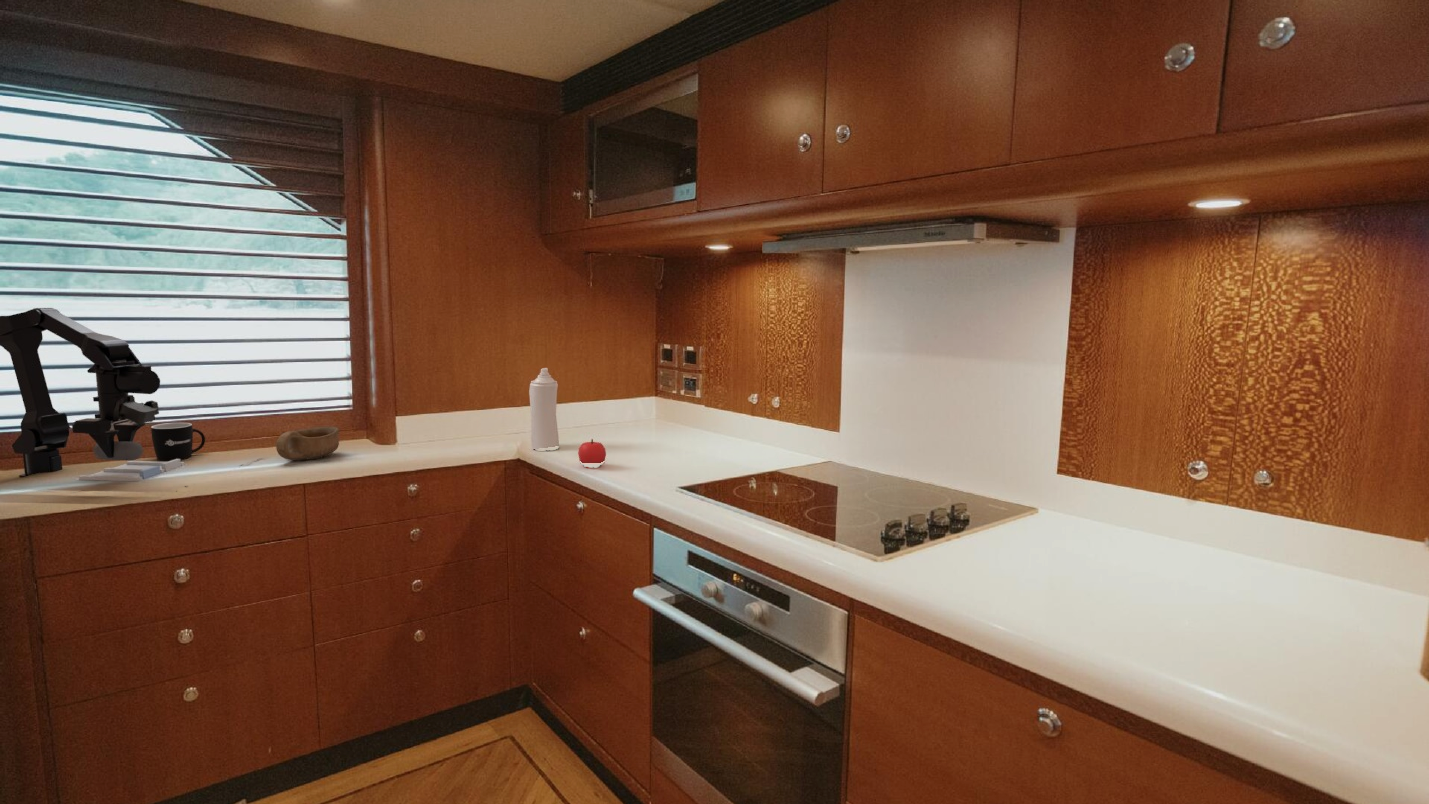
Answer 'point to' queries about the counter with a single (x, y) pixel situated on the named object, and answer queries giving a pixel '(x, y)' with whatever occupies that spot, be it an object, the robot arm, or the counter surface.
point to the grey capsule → (121, 451)
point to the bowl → (308, 443)
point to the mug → (174, 441)
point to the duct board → (135, 471)
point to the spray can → (543, 411)
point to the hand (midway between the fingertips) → (118, 455)
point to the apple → (592, 452)
